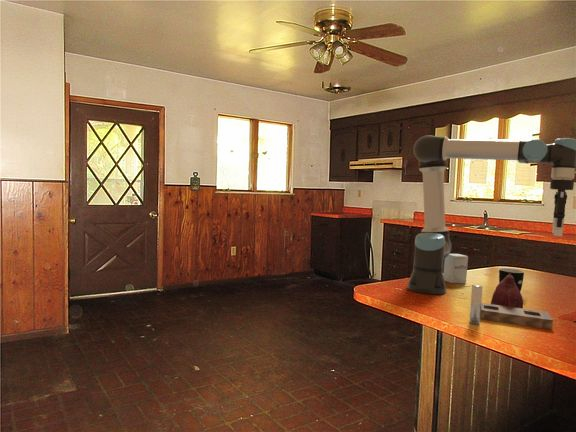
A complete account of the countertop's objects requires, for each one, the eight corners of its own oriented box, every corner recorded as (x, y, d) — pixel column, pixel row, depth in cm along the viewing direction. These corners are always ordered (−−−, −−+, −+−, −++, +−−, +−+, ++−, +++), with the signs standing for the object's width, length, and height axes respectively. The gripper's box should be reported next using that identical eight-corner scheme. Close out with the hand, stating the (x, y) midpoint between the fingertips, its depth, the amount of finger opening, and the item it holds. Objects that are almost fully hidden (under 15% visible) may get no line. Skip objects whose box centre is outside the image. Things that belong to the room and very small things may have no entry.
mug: (519, 298, 167) (521, 273, 166) (494, 294, 172) (496, 269, 172) (525, 293, 176) (527, 269, 175) (502, 289, 182) (504, 266, 181)
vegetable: (519, 323, 145) (529, 285, 140) (487, 313, 150) (495, 276, 145) (523, 309, 153) (532, 273, 148) (492, 300, 159) (500, 265, 153)
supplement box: (452, 283, 189) (454, 256, 188) (442, 280, 196) (444, 253, 195) (466, 283, 191) (468, 256, 190) (456, 279, 198) (458, 253, 197)
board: (474, 318, 138) (475, 309, 138) (474, 310, 147) (474, 301, 147) (552, 329, 129) (552, 320, 129) (546, 320, 139) (547, 311, 138)
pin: (469, 323, 132) (472, 286, 131) (469, 321, 135) (472, 284, 134) (479, 325, 131) (482, 287, 130) (479, 322, 133) (482, 285, 133)
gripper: (577, 178, 148) (571, 238, 149) (571, 180, 169) (566, 233, 171) (552, 177, 151) (546, 236, 153) (549, 180, 173) (544, 231, 175)
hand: (556, 234), depth 162 cm, fingers open, 13 cm apart
